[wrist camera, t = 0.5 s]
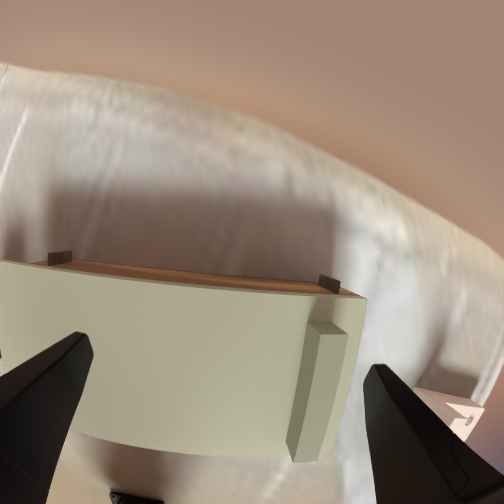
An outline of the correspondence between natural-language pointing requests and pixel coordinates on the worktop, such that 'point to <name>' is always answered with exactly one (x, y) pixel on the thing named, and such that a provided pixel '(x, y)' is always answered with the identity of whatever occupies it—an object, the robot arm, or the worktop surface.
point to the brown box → (195, 276)
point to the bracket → (452, 410)
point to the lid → (192, 359)
